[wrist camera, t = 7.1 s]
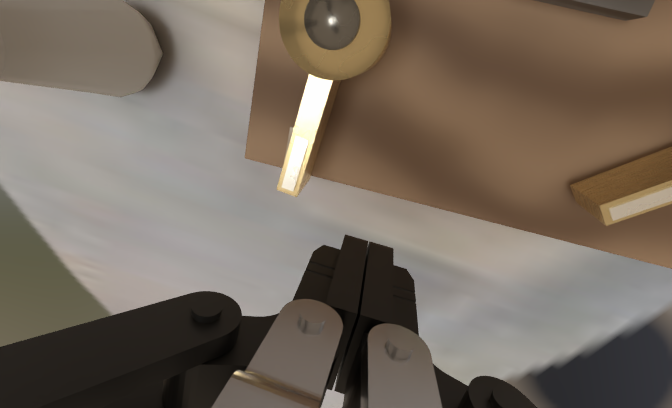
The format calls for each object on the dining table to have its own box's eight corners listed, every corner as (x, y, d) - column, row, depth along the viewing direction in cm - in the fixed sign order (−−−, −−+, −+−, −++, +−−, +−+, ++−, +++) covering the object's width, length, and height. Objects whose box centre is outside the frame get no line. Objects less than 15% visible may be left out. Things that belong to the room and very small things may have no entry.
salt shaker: (189, 36, 24) (-14, 12, 12) (155, 110, 26) (-46, 151, 14) (111, -20, 24) (-180, -104, 12) (82, 59, 26) (-190, 58, 14)
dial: (318, -34, 20) (292, -67, 15) (405, -4, 20) (409, -26, 15) (267, 160, 25) (233, 186, 19) (338, 186, 25) (323, 220, 19)
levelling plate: (300, -199, 19) (273, -275, 15) (892, -81, 18) (1055, -127, 13) (252, 153, 26) (224, 171, 22) (670, 260, 25) (729, 303, 20)
